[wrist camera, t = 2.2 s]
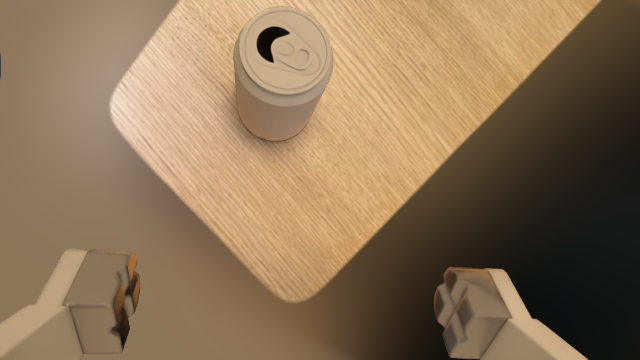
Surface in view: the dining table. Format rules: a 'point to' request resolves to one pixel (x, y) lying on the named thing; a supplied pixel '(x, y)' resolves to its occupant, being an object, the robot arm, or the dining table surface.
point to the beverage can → (280, 71)
